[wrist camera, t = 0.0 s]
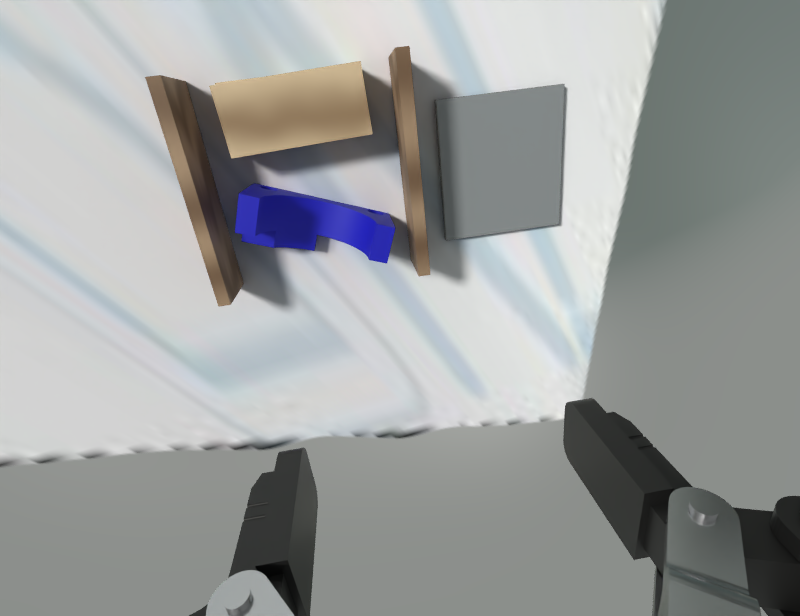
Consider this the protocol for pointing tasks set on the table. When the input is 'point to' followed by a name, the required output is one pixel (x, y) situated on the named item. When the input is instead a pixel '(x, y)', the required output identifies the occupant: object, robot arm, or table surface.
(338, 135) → the upper offcut
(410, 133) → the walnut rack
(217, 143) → the table surface
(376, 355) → the table surface
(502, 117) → the rubber mat
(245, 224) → the blue curved piece
